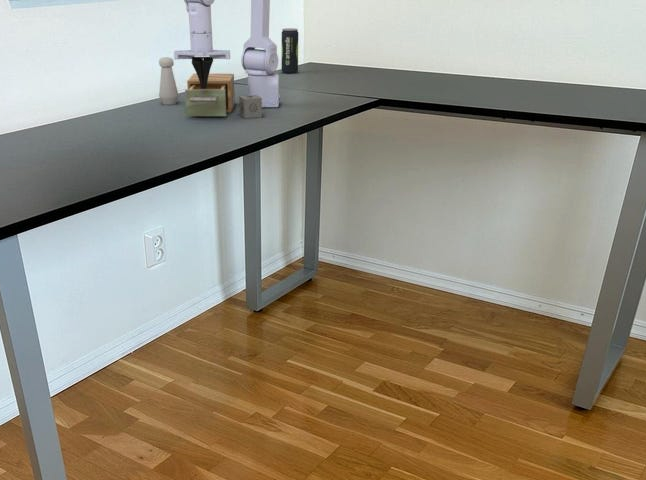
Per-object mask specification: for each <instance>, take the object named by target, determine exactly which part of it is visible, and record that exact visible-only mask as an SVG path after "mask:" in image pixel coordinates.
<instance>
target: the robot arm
mask: <svg viewBox="0 0 646 480" xmlns="http://www.w3.org/2000/svg"><path fill="white" fill-rule="evenodd" d="M183 2H184V3H185V10H186V11H187V13H188V25H189V27H188V28H189V40H190V49H185V50H174V51H173V60H175V61H177V60H191V65H192V67H193V69H194V71H195V74H197V76H198V78H199V81H200V86H201V89H206V88H207V81H208V76H209V74H210V71H211V69H212V66H213V63H214V60H231V50H230V49H229V50H228V49H227V50H225V49H224V50H223V49H214V45H213V44H214V43H213V25H212V24H213V23H212V5H213V4H214V2H215V0H183ZM270 10H271V0H250V37H249V38H248V39H247V40H246V41H245V42H244V43H243V50H242V54H241V56H240V57H241V58H240V62H241V66H242V69H243V70H244V71H245V74H247V96H249V95H257V96H259V97H261V98H262V108H279V107H280V101H281V94H280V75H279V74H278V73H276V71H277V69H278V66H279V55H278V45H277V44H276V43H275V42H274V41H273V40H272V39H271V38H270V13H271V11H270Z"/></svg>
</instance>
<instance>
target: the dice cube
mask: <svg viewBox="0 0 646 480" xmlns="http://www.w3.org/2000/svg"><path fill="white" fill-rule="evenodd" d="M238 97H239V98H238V100H239V115H240V116H241V117H243V118H244V119H252V118H253V119H254V118H262V117H263V107H262V98H261V97H259V96H257V95H249V96H248V95H239V96H238Z"/></svg>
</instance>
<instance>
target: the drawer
mask: <svg viewBox="0 0 646 480" xmlns="http://www.w3.org/2000/svg"><path fill="white" fill-rule="evenodd" d="M184 97H185V111H186V117H226V116H227V113H226V108H227V84H207V88H206V89H201V86H200V84H193V85H192V86H191V87H190V89H189V90H188V89H185V90H184Z"/></svg>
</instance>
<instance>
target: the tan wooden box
mask: <svg viewBox="0 0 646 480" xmlns="http://www.w3.org/2000/svg"><path fill="white" fill-rule="evenodd" d="M186 83H187V90H189V89H190V87H191V86H192V85H193V84H200V81H199V78H198V76H197V73H192V75H191V76H190V77H189V79H188V80H187V81H186ZM207 84H227V108H226V114H231V113H232V112H233V109H234V107H235V105H236V97H235V94H236V93H235V73H209V76H208V81H207Z"/></svg>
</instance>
